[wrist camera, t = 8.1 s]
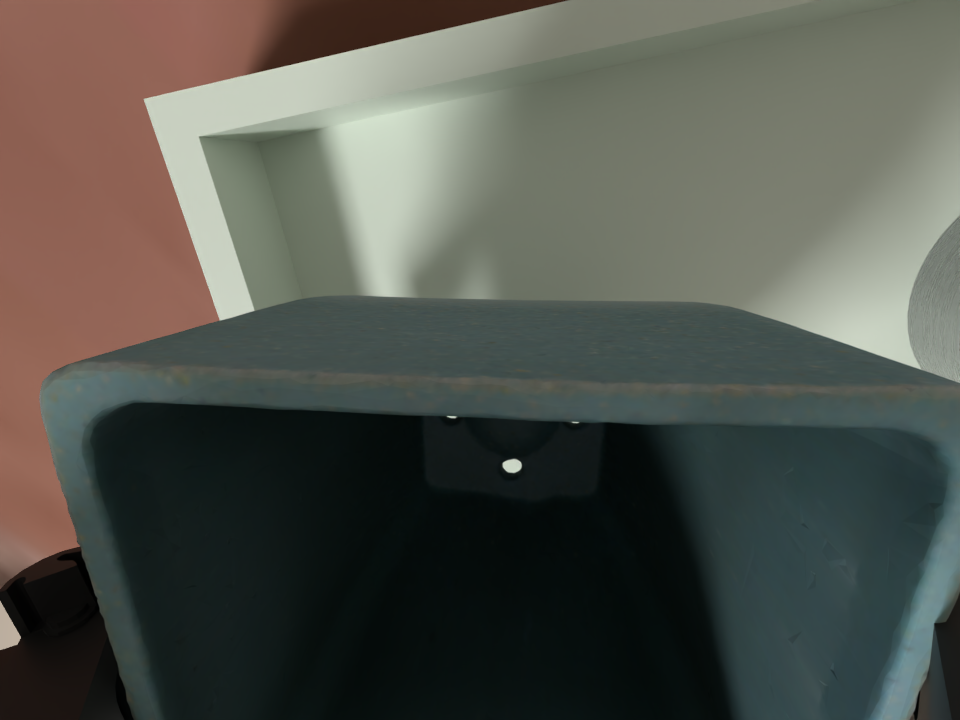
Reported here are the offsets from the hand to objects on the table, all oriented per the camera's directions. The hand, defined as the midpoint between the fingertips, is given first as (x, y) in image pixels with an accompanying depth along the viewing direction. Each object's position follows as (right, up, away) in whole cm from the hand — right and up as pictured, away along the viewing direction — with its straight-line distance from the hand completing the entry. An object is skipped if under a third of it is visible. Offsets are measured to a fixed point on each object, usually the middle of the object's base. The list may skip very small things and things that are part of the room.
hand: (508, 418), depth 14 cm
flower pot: (0, 0, +1) cm, 1 cm away
